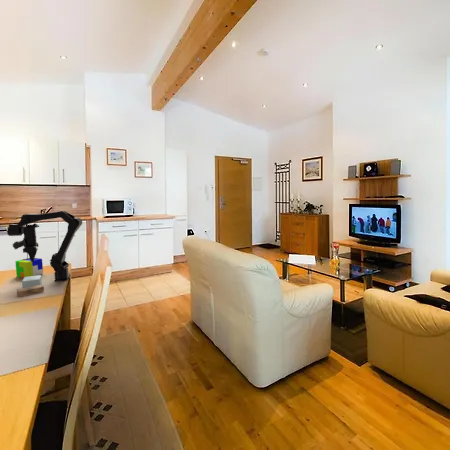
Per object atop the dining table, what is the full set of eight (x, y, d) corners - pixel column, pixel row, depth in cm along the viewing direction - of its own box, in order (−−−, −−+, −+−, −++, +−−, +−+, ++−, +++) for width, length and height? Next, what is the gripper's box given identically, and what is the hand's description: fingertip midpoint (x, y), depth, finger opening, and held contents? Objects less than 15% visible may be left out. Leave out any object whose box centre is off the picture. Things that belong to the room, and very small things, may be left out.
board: (41, 289, 154) (41, 284, 153) (44, 292, 150) (43, 286, 150) (17, 295, 146) (16, 289, 146) (18, 297, 142) (18, 291, 142)
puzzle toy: (43, 273, 183) (42, 258, 182) (28, 278, 174) (26, 262, 173) (32, 272, 187) (30, 257, 185) (16, 276, 177) (15, 261, 176)
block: (41, 283, 164) (41, 275, 164) (40, 288, 156) (39, 279, 156) (25, 285, 160) (24, 277, 160) (22, 290, 153) (21, 281, 152)
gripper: (15, 234, 168) (17, 260, 170) (10, 238, 152) (13, 267, 154) (37, 232, 174) (39, 257, 176) (35, 237, 158) (37, 264, 160)
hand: (32, 261), depth 166 cm, fingers closed
